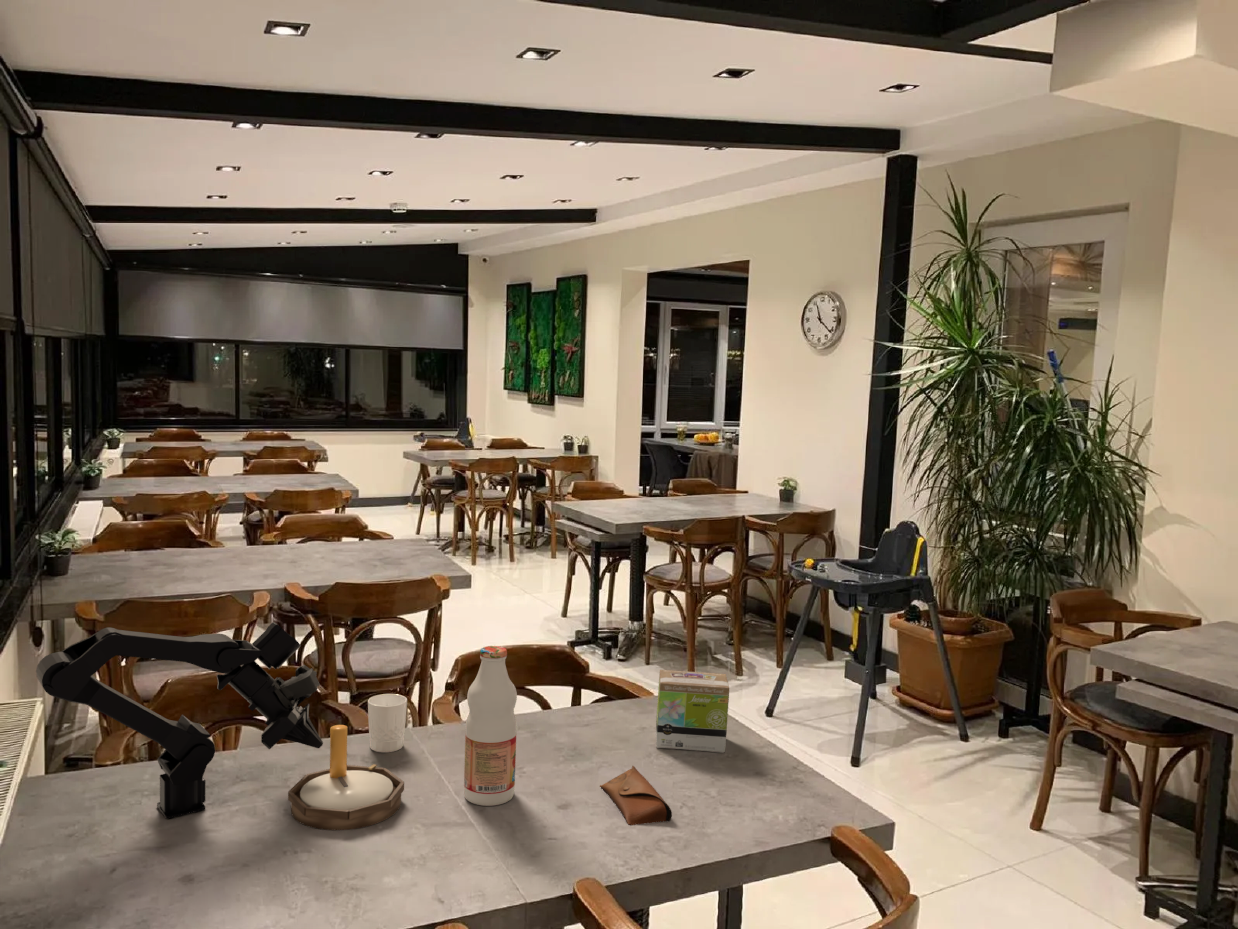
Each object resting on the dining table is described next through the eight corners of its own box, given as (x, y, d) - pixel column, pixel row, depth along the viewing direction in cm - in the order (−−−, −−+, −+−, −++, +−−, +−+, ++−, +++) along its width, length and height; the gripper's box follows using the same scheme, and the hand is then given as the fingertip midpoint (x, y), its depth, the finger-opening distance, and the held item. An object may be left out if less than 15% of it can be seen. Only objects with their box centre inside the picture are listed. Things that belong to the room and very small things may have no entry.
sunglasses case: (595, 784, 185) (613, 754, 186) (624, 799, 187) (641, 768, 188) (628, 826, 168) (648, 793, 169) (659, 842, 171) (678, 808, 171)
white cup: (400, 755, 195) (401, 707, 194) (362, 753, 196) (363, 705, 195) (409, 740, 203) (410, 694, 202) (373, 738, 203) (373, 692, 202)
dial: (321, 821, 160) (322, 765, 160) (286, 788, 173) (286, 735, 172) (408, 798, 171) (409, 744, 170) (369, 767, 183) (370, 718, 182)
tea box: (655, 750, 204) (658, 682, 202) (655, 732, 214) (658, 668, 212) (726, 754, 203) (729, 686, 202) (722, 736, 213) (726, 671, 212)
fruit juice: (453, 794, 178) (457, 647, 176) (493, 781, 185) (497, 639, 182) (484, 812, 171) (488, 659, 169) (524, 797, 178) (529, 650, 176)
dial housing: (316, 841, 158) (316, 819, 158) (274, 799, 173) (275, 779, 173) (419, 811, 171) (420, 791, 170) (372, 774, 185) (373, 756, 185)
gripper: (281, 673, 165) (346, 734, 167) (301, 643, 183) (359, 698, 186) (233, 718, 164) (299, 779, 167) (258, 683, 183) (317, 738, 185)
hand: (321, 746), depth 176 cm, fingers closed
